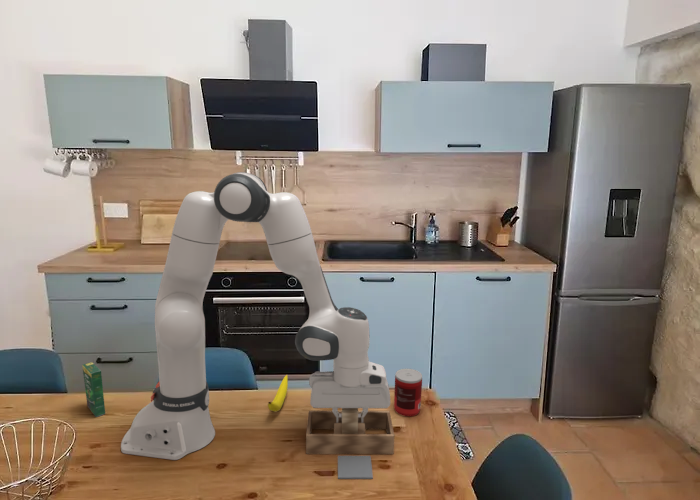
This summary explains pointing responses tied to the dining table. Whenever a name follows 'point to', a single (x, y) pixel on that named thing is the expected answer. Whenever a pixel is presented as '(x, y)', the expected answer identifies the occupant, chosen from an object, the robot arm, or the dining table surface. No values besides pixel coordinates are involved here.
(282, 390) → the banana
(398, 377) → the canned food
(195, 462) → the dining table surface
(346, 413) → the block
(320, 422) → the crate
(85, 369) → the coffee box
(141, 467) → the dining table surface
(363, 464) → the mat
